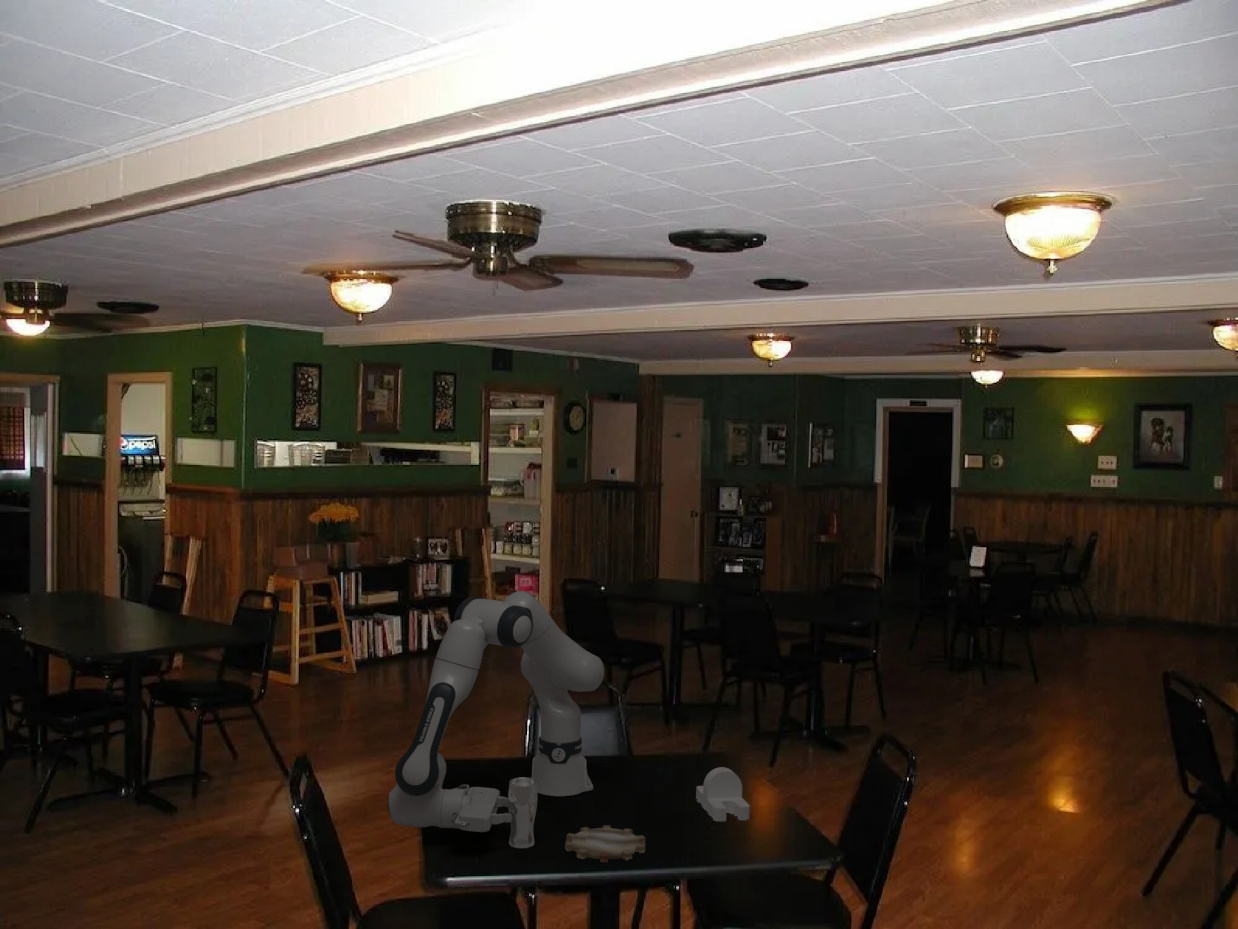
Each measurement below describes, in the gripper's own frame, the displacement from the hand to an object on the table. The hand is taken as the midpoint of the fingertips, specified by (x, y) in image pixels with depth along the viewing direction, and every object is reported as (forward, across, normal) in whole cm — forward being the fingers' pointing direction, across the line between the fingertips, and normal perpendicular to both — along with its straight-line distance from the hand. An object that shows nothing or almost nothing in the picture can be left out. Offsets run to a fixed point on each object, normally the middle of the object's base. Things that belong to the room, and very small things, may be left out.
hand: (514, 810), depth 263 cm
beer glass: (+2, 0, +8) cm, 8 cm away
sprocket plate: (+22, 0, +8) cm, 23 cm away
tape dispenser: (+52, +29, +9) cm, 60 cm away
